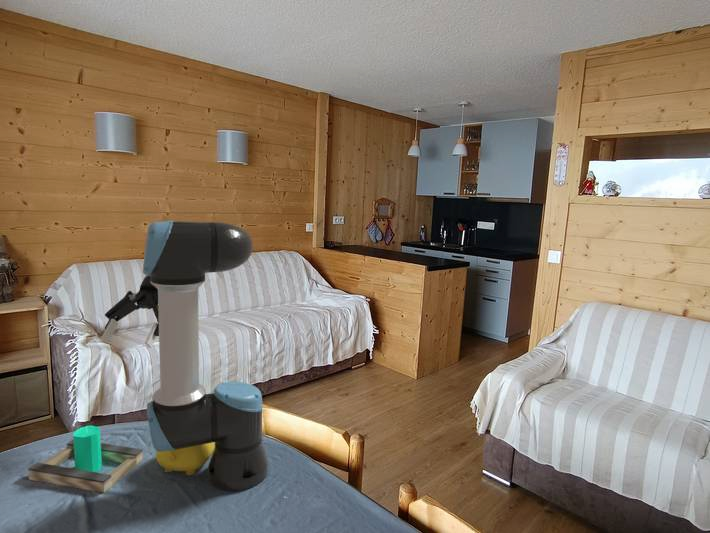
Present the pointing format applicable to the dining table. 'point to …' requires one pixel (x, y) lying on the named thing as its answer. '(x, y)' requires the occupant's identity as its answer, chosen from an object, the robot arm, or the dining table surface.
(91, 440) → the candle
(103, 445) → the rectangular wooden frame
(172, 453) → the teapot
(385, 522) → the dining table surface
